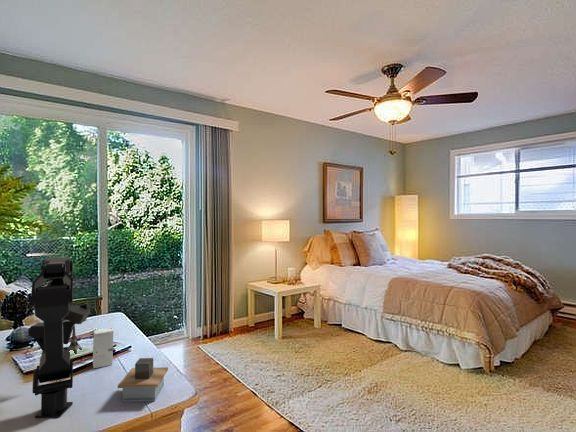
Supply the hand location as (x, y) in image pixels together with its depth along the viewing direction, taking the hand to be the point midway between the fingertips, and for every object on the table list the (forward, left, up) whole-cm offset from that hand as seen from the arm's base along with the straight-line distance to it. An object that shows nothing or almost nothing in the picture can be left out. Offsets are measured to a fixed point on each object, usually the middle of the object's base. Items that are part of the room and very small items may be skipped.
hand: (57, 349), depth 106 cm
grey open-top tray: (-4, -27, -12) cm, 30 cm away
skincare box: (+17, -6, -12) cm, 22 cm away
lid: (-4, -27, -8) cm, 28 cm away
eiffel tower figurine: (+28, +10, -13) cm, 33 cm away
